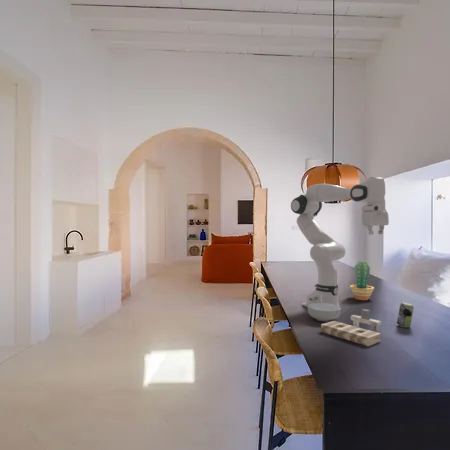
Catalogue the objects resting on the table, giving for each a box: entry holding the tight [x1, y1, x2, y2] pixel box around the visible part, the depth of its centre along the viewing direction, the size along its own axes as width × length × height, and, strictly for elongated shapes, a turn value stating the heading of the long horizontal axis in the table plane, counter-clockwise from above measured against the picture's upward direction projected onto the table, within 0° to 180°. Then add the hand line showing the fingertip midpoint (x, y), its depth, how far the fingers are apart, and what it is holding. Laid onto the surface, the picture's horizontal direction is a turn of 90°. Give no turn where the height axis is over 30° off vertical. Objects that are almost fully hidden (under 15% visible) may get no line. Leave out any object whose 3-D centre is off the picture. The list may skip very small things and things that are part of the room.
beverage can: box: [396, 301, 415, 329], centre depth 175 cm, size 6×7×12 cm
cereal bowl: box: [307, 303, 342, 323], centre depth 187 cm, size 17×17×7 cm
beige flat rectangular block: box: [320, 320, 382, 347], centre depth 160 cm, size 24×10×4 cm, turn 37°
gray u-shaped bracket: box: [350, 308, 382, 333], centre depth 168 cm, size 14×3×10 cm, turn 37°
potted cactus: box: [349, 260, 375, 301], centre depth 237 cm, size 15×15×25 cm
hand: (375, 234), depth 185 cm, fingers open, 8 cm apart
